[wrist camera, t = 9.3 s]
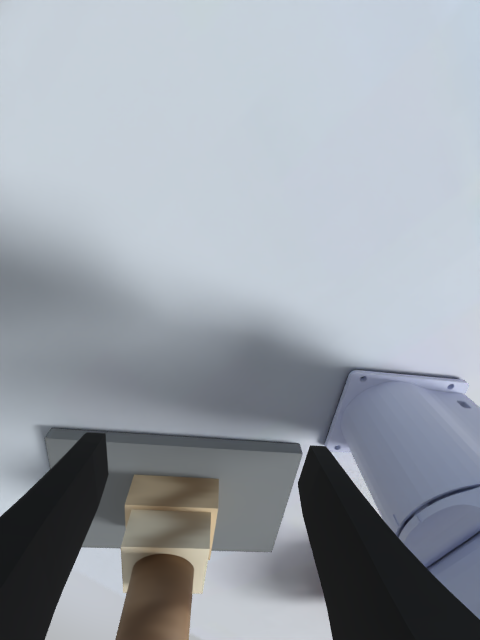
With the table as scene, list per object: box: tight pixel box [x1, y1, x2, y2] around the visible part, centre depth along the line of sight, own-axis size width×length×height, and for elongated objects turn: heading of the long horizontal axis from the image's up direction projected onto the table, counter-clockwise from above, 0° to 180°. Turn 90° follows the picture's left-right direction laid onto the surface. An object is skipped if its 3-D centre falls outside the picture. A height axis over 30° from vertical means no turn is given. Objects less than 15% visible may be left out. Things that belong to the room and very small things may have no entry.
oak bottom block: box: [125, 475, 219, 560], centre depth 25 cm, size 7×7×2 cm
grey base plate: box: [45, 428, 302, 552], centre depth 26 cm, size 20×14×1 cm
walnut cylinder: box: [116, 554, 194, 640], centre depth 19 cm, size 4×4×5 cm
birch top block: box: [121, 509, 211, 594], centre depth 22 cm, size 6×6×2 cm
